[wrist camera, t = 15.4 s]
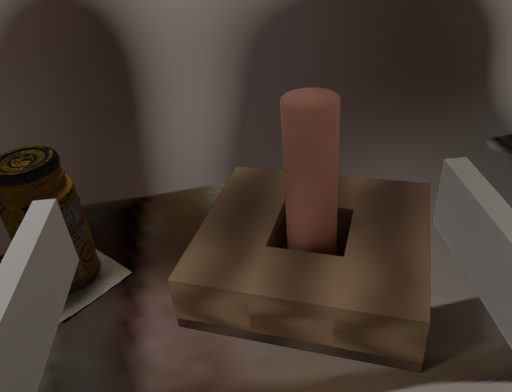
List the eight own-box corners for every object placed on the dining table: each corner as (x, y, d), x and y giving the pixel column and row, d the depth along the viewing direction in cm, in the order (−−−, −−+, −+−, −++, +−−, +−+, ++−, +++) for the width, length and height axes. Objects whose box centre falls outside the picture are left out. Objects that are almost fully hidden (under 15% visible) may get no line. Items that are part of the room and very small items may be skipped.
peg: (283, 277, 39) (273, 109, 31) (294, 246, 42) (287, 86, 34) (331, 285, 38) (335, 112, 30) (339, 252, 41) (344, 88, 33)
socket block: (178, 326, 37) (167, 280, 34) (241, 207, 50) (236, 166, 47) (420, 372, 32) (430, 322, 29) (422, 228, 45) (429, 183, 42)
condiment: (80, 239, 47) (39, 131, 41) (132, 273, 43) (97, 158, 36) (10, 282, 43) (-48, 169, 36) (60, 325, 38) (4, 205, 32)
